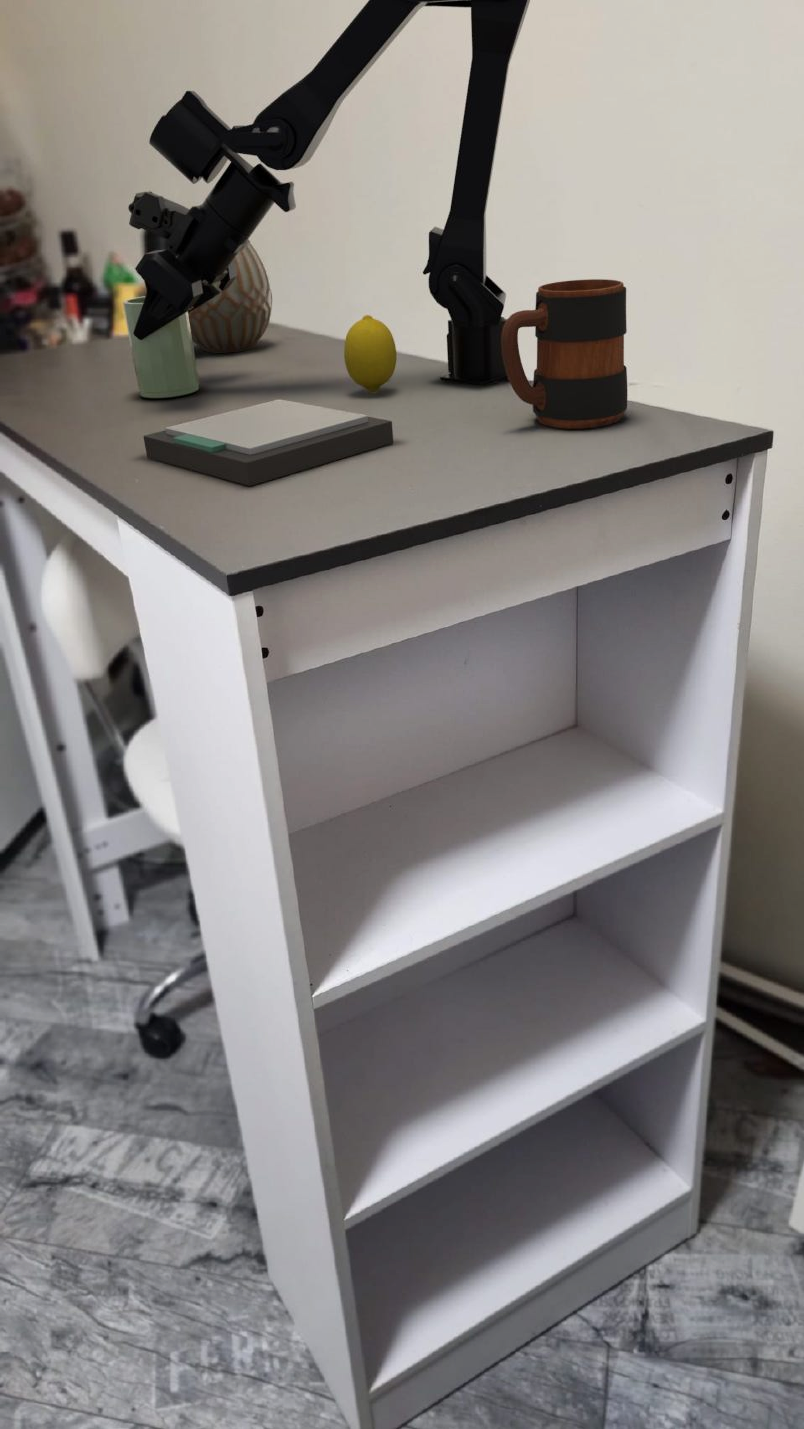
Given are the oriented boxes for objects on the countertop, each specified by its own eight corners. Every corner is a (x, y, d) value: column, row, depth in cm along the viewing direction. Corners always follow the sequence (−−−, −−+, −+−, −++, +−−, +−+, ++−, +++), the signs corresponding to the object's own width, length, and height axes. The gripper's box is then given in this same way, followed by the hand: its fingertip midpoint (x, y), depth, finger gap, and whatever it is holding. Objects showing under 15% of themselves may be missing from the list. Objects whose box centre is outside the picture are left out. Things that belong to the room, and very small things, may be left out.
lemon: (405, 387, 119) (400, 310, 116) (388, 399, 115) (382, 319, 111) (358, 387, 121) (352, 311, 117) (339, 398, 117) (332, 320, 113)
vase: (272, 336, 156) (256, 201, 148) (283, 351, 145) (266, 206, 136) (179, 346, 154) (158, 209, 146) (183, 362, 143) (160, 215, 134)
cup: (210, 388, 125) (196, 295, 120) (160, 400, 121) (143, 305, 116) (178, 382, 129) (163, 293, 125) (129, 394, 125) (111, 301, 121)
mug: (484, 421, 103) (480, 290, 98) (597, 403, 107) (599, 275, 101) (524, 441, 96) (522, 300, 91) (644, 421, 99) (649, 284, 94)
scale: (393, 443, 99) (391, 414, 97) (249, 486, 89) (245, 455, 88) (285, 420, 109) (282, 394, 108) (146, 457, 100) (141, 429, 99)
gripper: (193, 157, 122) (118, 269, 128) (137, 163, 105) (54, 292, 112) (271, 229, 124) (193, 336, 131) (229, 246, 108) (142, 367, 115)
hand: (147, 331), depth 122 cm, fingers closed on cup, 7 cm apart
